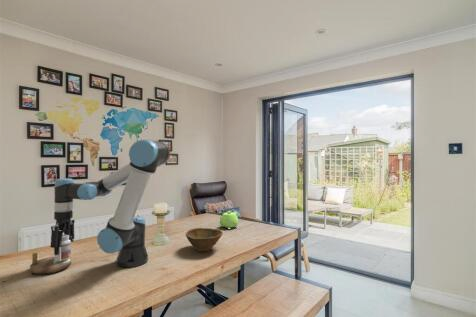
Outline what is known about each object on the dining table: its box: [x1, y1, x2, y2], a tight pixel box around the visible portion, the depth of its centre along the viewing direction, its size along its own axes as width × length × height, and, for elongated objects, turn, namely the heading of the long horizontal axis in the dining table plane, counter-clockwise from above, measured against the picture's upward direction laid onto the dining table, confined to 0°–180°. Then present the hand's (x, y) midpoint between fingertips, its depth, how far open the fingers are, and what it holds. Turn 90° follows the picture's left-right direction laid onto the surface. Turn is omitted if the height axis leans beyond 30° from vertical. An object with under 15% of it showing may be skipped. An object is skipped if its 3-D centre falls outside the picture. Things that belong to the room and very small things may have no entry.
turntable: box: [29, 252, 72, 275], centre depth 127 cm, size 16×16×7 cm
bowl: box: [185, 227, 224, 252], centre depth 158 cm, size 22×23×10 cm
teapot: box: [219, 210, 239, 229], centre depth 208 cm, size 20×13×13 cm
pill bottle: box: [60, 234, 72, 261], centre depth 129 cm, size 6×6×11 cm
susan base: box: [42, 269, 64, 275], centre depth 127 cm, size 12×12×1 cm
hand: (62, 257), depth 129 cm, fingers closed on pill bottle, 6 cm apart
